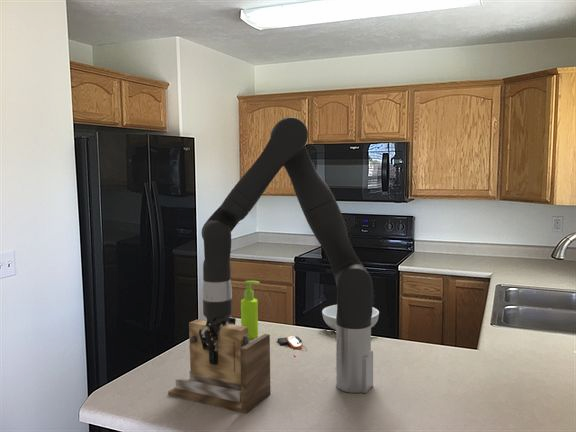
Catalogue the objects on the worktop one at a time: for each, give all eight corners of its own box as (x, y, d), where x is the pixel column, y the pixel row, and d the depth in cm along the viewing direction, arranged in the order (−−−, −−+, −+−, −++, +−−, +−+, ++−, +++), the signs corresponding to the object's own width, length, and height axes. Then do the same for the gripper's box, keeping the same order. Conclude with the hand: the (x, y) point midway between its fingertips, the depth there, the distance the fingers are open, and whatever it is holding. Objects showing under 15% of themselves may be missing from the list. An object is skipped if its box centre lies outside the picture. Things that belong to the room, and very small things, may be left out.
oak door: (252, 380, 132) (251, 327, 131) (241, 387, 127) (240, 332, 126) (198, 369, 140) (197, 319, 138) (186, 376, 135) (185, 324, 134)
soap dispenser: (258, 339, 179) (257, 283, 177) (239, 338, 180) (238, 282, 178) (262, 334, 184) (261, 279, 183) (244, 333, 186) (243, 278, 184)
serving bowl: (313, 324, 196) (313, 306, 195) (361, 318, 203) (362, 301, 203) (337, 341, 176) (337, 321, 176) (390, 334, 184) (390, 315, 183)
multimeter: (324, 357, 162) (324, 346, 162) (287, 360, 160) (287, 349, 160) (310, 339, 180) (310, 330, 180) (277, 342, 178) (277, 332, 177)
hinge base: (270, 394, 135) (269, 334, 133) (246, 413, 124) (245, 349, 123) (196, 378, 145) (194, 323, 144) (168, 395, 135) (166, 335, 133)
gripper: (213, 304, 124) (215, 373, 126) (244, 292, 137) (245, 355, 139) (188, 301, 128) (190, 368, 129) (220, 289, 140) (222, 350, 142)
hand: (218, 361), depth 134 cm, fingers closed on oak door, 4 cm apart
